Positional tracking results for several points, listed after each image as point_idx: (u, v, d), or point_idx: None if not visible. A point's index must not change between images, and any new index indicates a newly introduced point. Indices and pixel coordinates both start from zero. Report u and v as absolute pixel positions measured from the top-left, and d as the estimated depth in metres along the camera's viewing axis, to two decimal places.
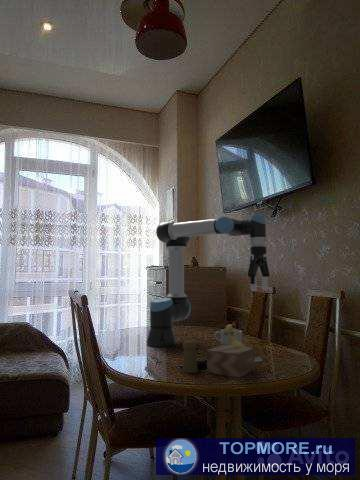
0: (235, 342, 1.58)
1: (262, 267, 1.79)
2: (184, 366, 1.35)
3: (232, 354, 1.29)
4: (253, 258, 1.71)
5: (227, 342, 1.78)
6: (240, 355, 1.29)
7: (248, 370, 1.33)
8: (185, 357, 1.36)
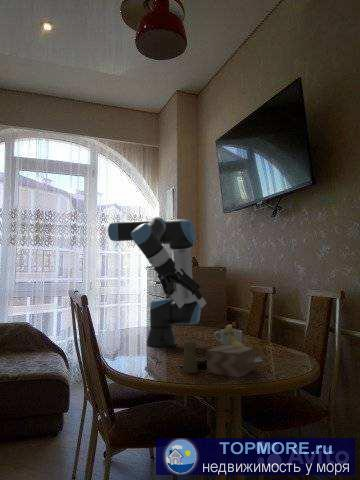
0: (235, 342, 1.57)
1: None
2: (184, 366, 1.35)
3: (232, 354, 1.29)
4: None
5: (227, 342, 1.78)
6: (240, 355, 1.29)
7: (248, 370, 1.33)
8: (185, 357, 1.36)
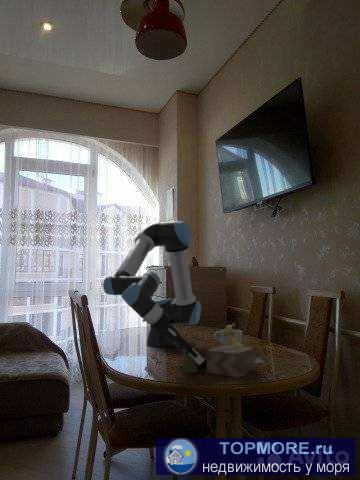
0: (235, 343, 1.55)
1: None
2: (184, 366, 1.35)
3: (232, 354, 1.29)
4: None
5: (227, 342, 1.78)
6: (240, 355, 1.29)
7: (248, 370, 1.33)
8: (185, 357, 1.36)
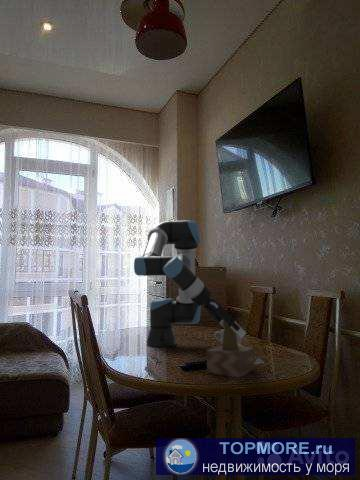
0: None
1: None
2: (225, 344, 1.35)
3: (232, 354, 1.29)
4: None
5: None
6: (240, 355, 1.29)
7: (248, 370, 1.33)
8: (226, 335, 1.36)
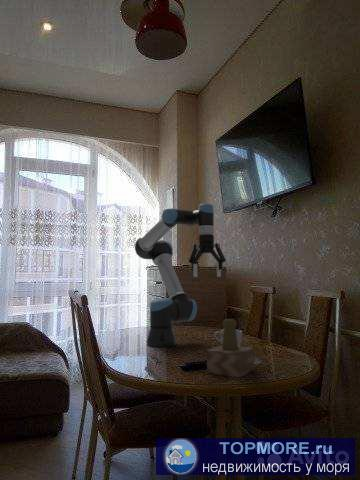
0: None
1: None
2: (225, 344, 1.35)
3: (232, 354, 1.29)
4: None
5: None
6: (240, 355, 1.29)
7: (248, 370, 1.33)
8: (226, 335, 1.36)
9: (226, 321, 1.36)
